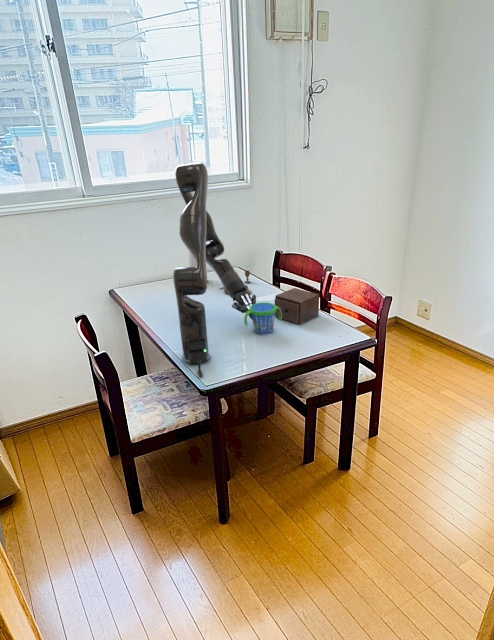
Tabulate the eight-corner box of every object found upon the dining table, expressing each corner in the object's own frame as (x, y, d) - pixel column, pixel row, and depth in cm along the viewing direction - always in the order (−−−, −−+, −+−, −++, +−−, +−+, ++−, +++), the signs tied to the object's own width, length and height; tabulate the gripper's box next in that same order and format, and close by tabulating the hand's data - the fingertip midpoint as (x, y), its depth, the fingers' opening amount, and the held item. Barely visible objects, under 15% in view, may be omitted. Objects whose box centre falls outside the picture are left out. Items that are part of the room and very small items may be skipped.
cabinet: (300, 324, 206) (300, 302, 201) (275, 316, 214) (275, 295, 209) (318, 315, 214) (319, 294, 209) (294, 308, 221) (294, 287, 216)
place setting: (215, 289, 246) (214, 278, 243) (247, 281, 256) (247, 269, 253) (236, 298, 234) (236, 286, 231) (269, 289, 245) (269, 277, 242)
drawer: (295, 324, 204) (295, 306, 200) (272, 316, 211) (272, 299, 207) (314, 315, 212) (314, 297, 208) (291, 308, 219) (292, 291, 215)
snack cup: (248, 338, 195) (247, 314, 189) (241, 328, 203) (240, 304, 198) (285, 333, 198) (286, 309, 193) (278, 323, 207) (278, 300, 202)
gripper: (225, 282, 196) (248, 319, 195) (248, 274, 204) (271, 309, 203) (216, 292, 201) (239, 328, 201) (239, 284, 210) (261, 318, 209)
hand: (255, 318), depth 202 cm, fingers closed
